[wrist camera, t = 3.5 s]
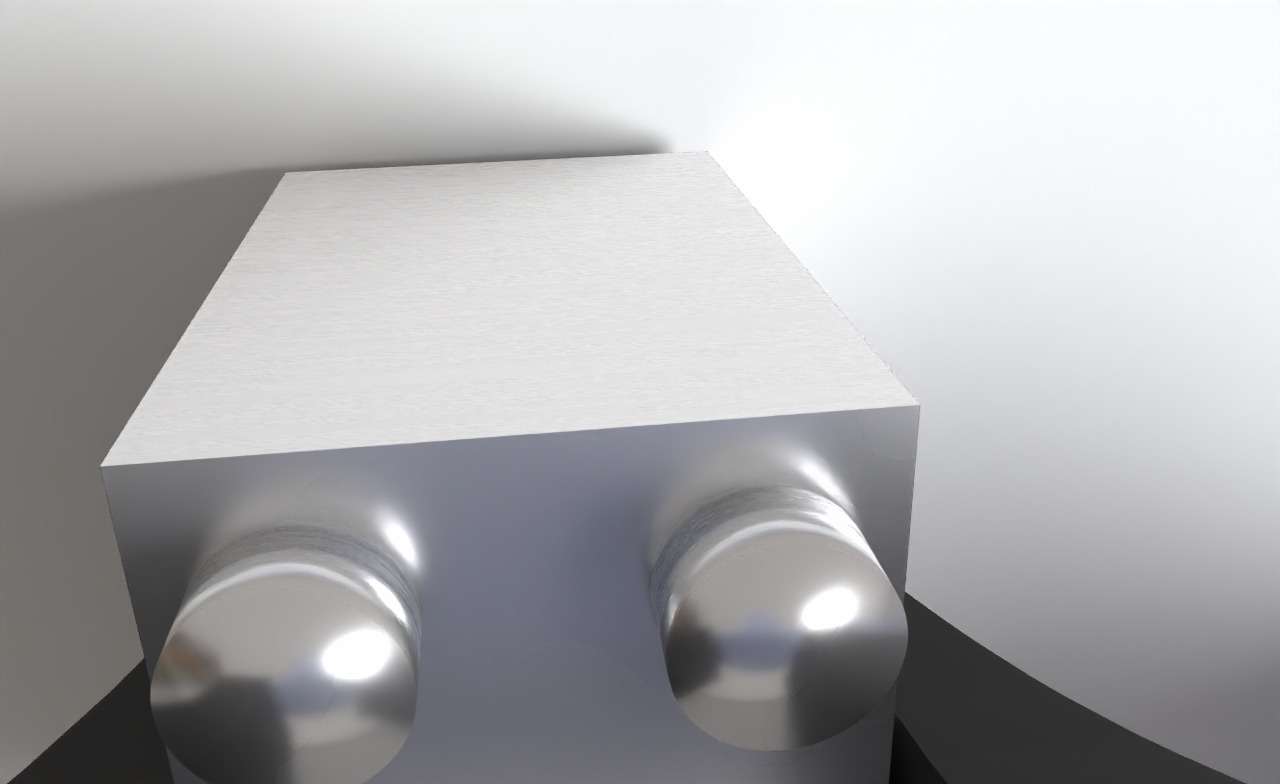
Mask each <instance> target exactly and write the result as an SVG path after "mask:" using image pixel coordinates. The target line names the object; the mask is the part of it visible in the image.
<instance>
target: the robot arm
mask: <svg viewBox="0 0 1280 784" xmlns="http://www.w3.org/2000/svg"><path fill="white" fill-rule="evenodd" d="M903 608H904V611H905V614H906V620H907V626H908V643H907V649H906V655H905V658H904V661H903V664H902V668H901V670H900V672H899V674H898V678H897V690H896V702H895V714H894V726H893V738H892V750H891V762H890V774H889V784H1246V783H1243V782H1241V781H1239V780H1236V779H1234V778H1232V777H1230V776H1227V775H1225V774H1223V773H1220V772H1218V771H1216V770H1213V769H1211V768H1209V767H1207V766H1204V765H1202V764H1200V763H1197V762H1195V761H1193V760H1191V759H1188V758H1186V757H1184V756H1181V755H1179V754H1177V753H1175V752H1173V751H1170V750H1168V749H1166V748H1164V747H1162V746H1160V745H1158V744H1156V743H1154V742H1152V741H1149V740H1147V739H1145V738H1143V737H1141V736H1139V735H1137V734H1135V733H1133V732H1131V731H1129V730H1127V729H1125V728H1123V727H1122V726H1120V725H1118V724H1116V723H1114V722H1112V721H1110V720H1108V719H1106V718H1105V717H1103V716H1101V715H1099V714H1097V713H1095V712H1093V711H1091V710H1089V709H1088V708H1086V707H1084V706H1082V705H1080V704H1078V703H1076V702H1074V701H1073V700H1071V699H1069V698H1067V697H1065V696H1063V695H1061V694H1060V693H1058V692H1056V691H1055V690H1053V689H1051V688H1049V687H1048V686H1046V685H1044V684H1042V683H1041V682H1039V681H1037V680H1036V679H1034V678H1032V677H1031V676H1029V675H1027V674H1026V673H1024V672H1023V671H1021V670H1020V669H1018V668H1016V667H1015V666H1013V665H1012V664H1010V663H1008V662H1007V661H1005V660H1004V659H1002V658H1001V657H999V656H997V655H996V654H994V653H993V652H991V651H990V650H988V649H986V648H985V647H983V646H982V645H980V644H979V643H977V642H975V641H974V640H973V639H971V638H970V637H968V636H967V635H965V634H964V633H962V632H961V631H959V630H958V629H956V628H955V627H954V626H952V625H951V624H949V623H948V622H946V621H945V620H943V619H942V618H941V617H939V616H938V615H936V614H935V613H934V612H932V611H931V610H929V609H928V608H927V607H925V606H924V605H922V604H921V603H920V602H918V601H917V600H916V599H914V598H913V597H912V596H910V595H909V594H907V593H906V592H905V594H904V606H903ZM150 692H151V683H150V678H149V674H148V670H147V666H146V661H145V658H144V659H143V660H142V661H141V662H140V663H139V664H138V665H137V666H136V667H135V668H134V669H133V670H132V671H131V672H130V673H129V674H128V675H127V676H126V677H125V678H124V679H123V680H122V681H121V682H120V683H119V684H118V685H117V686H116V687H115V688H114V689H113V690H112V691H111V692H110V693H109V694H108V695H107V696H105V697H104V698H103V699H102V700H101V701H100V702H99V703H98V704H97V705H95V706H94V707H93V708H92V709H91V710H90V711H89V712H88V713H87V714H85V715H84V716H83V717H82V718H81V719H80V720H79V721H78V722H77V723H75V724H74V725H73V726H72V727H71V728H70V729H69V730H68V731H67V732H65V733H64V734H63V735H62V736H61V737H60V738H59V739H58V740H57V741H55V742H54V743H53V744H52V745H51V746H50V747H49V748H48V749H47V750H45V751H44V752H43V753H42V754H41V755H40V756H39V757H38V758H37V759H35V760H34V761H33V762H32V763H31V764H30V765H29V766H28V767H27V768H25V769H24V770H23V771H22V772H21V773H19V774H18V775H17V776H16V777H15V778H13V779H12V780H11V781H10V782H9V783H7V784H174V780H173V776H172V772H171V768H170V763H169V759H168V755H167V751H166V746H165V743H164V742H163V740H162V738H161V736H160V734H159V732H158V730H157V728H156V725H155V722H154V719H153V716H152V709H151V703H150Z"/></svg>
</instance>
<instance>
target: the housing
mask: <svg viewBox="0 0 1280 784" xmlns="http://www.w3.org/2000/svg"><path fill="white" fill-rule="evenodd" d="M919 413H920V404H919V403H918V402H917V400H916V399H915V398H914V397H913V396H912V394H911V393H910V392H909V391H908V390H907V388H906V387H905V386H904V385H903V384H902V382H901V381H900V380H899V379H898V378H897V377H896V375H895V374H894V373H893V372H892V371H891V369H890V368H889V367H888V366H887V365H886V363H885V362H884V361H883V360H882V359H881V357H880V356H879V355H878V354H877V353H876V352H875V350H874V349H873V348H872V347H871V346H870V344H869V343H868V342H867V341H866V340H865V338H864V337H863V336H862V335H861V334H860V332H859V331H858V330H857V329H856V328H855V327H854V325H853V324H852V323H851V322H850V321H849V319H848V318H847V317H846V316H845V315H844V313H843V312H842V311H841V310H840V309H839V307H838V306H837V305H836V304H835V303H834V302H833V300H832V299H831V298H830V297H829V296H828V294H827V293H826V292H825V291H824V290H823V288H822V287H821V286H820V285H819V284H818V282H817V281H816V280H815V279H814V278H813V277H812V275H811V274H810V273H809V272H808V271H807V269H806V268H805V267H804V266H803V265H802V263H801V262H800V261H799V260H798V259H797V257H796V256H795V255H794V254H793V253H792V252H791V250H790V249H789V248H788V247H787V246H786V244H785V243H784V242H783V241H782V240H781V238H780V237H779V236H778V235H777V234H776V232H775V231H774V230H773V229H772V228H771V227H770V225H769V224H768V223H767V222H766V221H765V219H764V218H763V217H762V216H761V215H760V213H759V212H758V211H757V210H756V209H755V207H754V206H753V205H752V204H751V203H750V202H749V200H748V199H747V198H746V197H745V196H744V194H743V193H742V192H741V191H740V190H739V188H738V187H737V186H736V185H735V184H734V182H733V181H732V180H731V179H730V178H729V177H728V175H727V174H726V173H725V172H724V171H723V169H722V168H721V167H720V166H719V165H718V163H717V162H716V161H715V160H714V159H713V157H712V156H711V155H710V154H709V153H708V152H707V151H703V152H683V153H663V154H643V155H623V156H603V157H583V158H563V159H543V160H523V161H503V162H483V163H463V164H443V165H423V166H403V167H383V168H363V169H343V170H323V171H303V172H286V173H285V174H284V176H283V177H282V179H281V181H280V182H279V184H278V185H277V187H276V189H275V190H274V192H273V193H272V195H271V196H270V198H269V200H268V201H267V203H266V204H265V206H264V208H263V209H262V211H261V212H260V214H259V215H258V217H257V219H256V220H255V222H254V223H253V225H252V227H251V228H250V230H249V231H248V233H247V234H246V236H245V238H244V239H243V241H242V242H241V244H240V245H239V247H238V249H237V250H236V252H235V253H234V255H233V257H232V258H231V260H230V261H229V263H228V264H227V266H226V268H225V269H224V271H223V272H222V274H221V276H220V277H219V279H218V280H217V282H216V283H215V285H214V287H213V288H212V290H211V291H210V293H209V294H208V296H207V298H206V299H205V301H204V302H203V304H202V306H201V307H200V309H199V310H198V312H197V313H196V315H195V317H194V318H193V320H192V321H191V323H190V325H189V326H188V328H187V329H186V331H185V332H184V334H183V336H182V337H181V339H180V340H179V342H178V343H177V345H176V347H175V348H174V350H173V351H172V353H171V355H170V356H169V358H168V359H167V361H166V362H165V364H164V366H163V367H162V369H161V370H160V372H159V374H158V375H157V377H156V378H155V380H154V381H153V383H152V385H151V386H150V388H149V389H148V391H147V393H146V394H145V396H144V397H143V399H142V400H141V402H140V404H139V405H138V407H137V408H136V410H135V411H134V413H133V415H132V416H131V418H130V419H129V421H128V423H127V424H126V426H125V427H124V429H123V430H122V432H121V434H120V435H119V437H118V438H117V440H116V442H115V443H114V445H113V446H112V448H111V449H110V451H109V453H108V454H107V456H106V457H105V459H104V460H103V462H102V464H101V465H100V470H101V474H102V479H103V483H104V487H105V491H106V496H107V500H108V504H109V508H110V513H111V517H112V521H113V525H114V530H115V534H116V538H117V542H118V547H119V551H120V555H121V559H122V564H123V568H124V572H125V576H126V581H127V585H128V589H129V593H130V598H131V602H132V606H133V610H134V615H135V619H136V623H137V627H138V632H139V636H140V640H141V644H142V649H143V653H144V657H145V661H146V666H147V670H148V674H149V678H150V683H151V692H150V703H151V709H152V716H153V719H154V722H155V725H156V728H157V730H158V732H159V734H160V736H161V738H162V740H163V742H164V743H165V746H166V751H167V755H168V759H169V763H170V768H171V772H172V776H173V780H174V784H889V774H890V762H891V750H892V738H893V726H894V714H895V702H896V690H897V678H898V674H899V672H900V670H901V668H902V664H903V661H904V658H905V655H906V649H907V643H908V626H907V620H906V614H905V611H904V608H903V606H904V594H905V581H906V570H907V557H908V545H909V533H910V521H911V509H912V497H913V485H914V473H915V461H916V449H917V437H918V425H919Z"/></svg>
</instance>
